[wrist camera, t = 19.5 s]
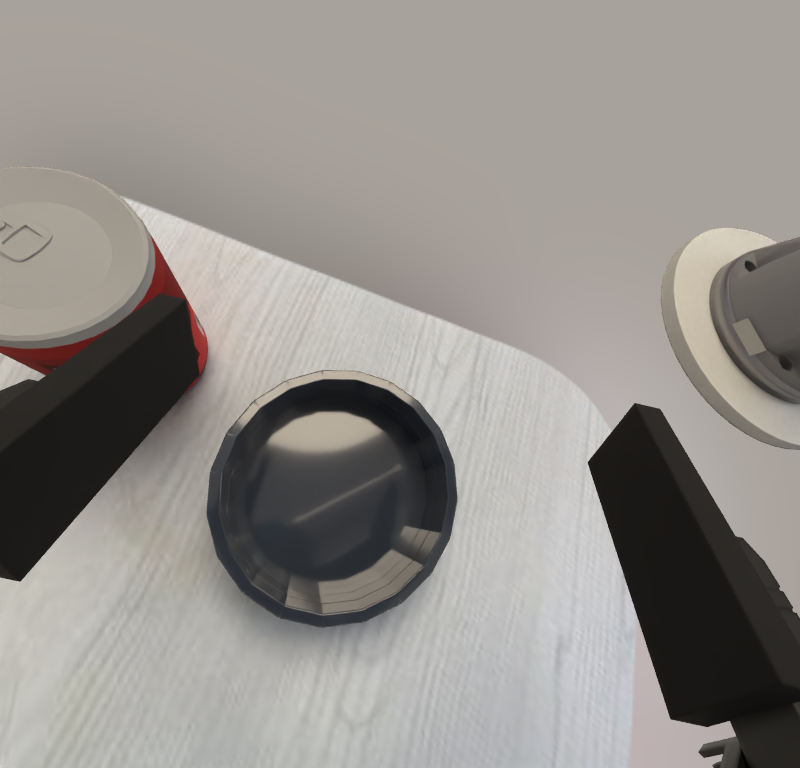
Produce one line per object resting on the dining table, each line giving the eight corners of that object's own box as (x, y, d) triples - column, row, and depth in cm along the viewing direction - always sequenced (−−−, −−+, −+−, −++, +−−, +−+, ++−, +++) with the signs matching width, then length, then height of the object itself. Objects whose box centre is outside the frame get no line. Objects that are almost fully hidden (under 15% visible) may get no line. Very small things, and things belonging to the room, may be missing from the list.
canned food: (109, 283, 26) (-21, 135, 15) (230, 323, 27) (184, 209, 16) (43, 388, 23) (-166, 294, 13) (181, 428, 24) (90, 370, 14)
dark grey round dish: (425, 392, 28) (446, 372, 24) (440, 591, 25) (468, 608, 20) (232, 390, 25) (218, 367, 21) (216, 618, 22) (195, 644, 17)
